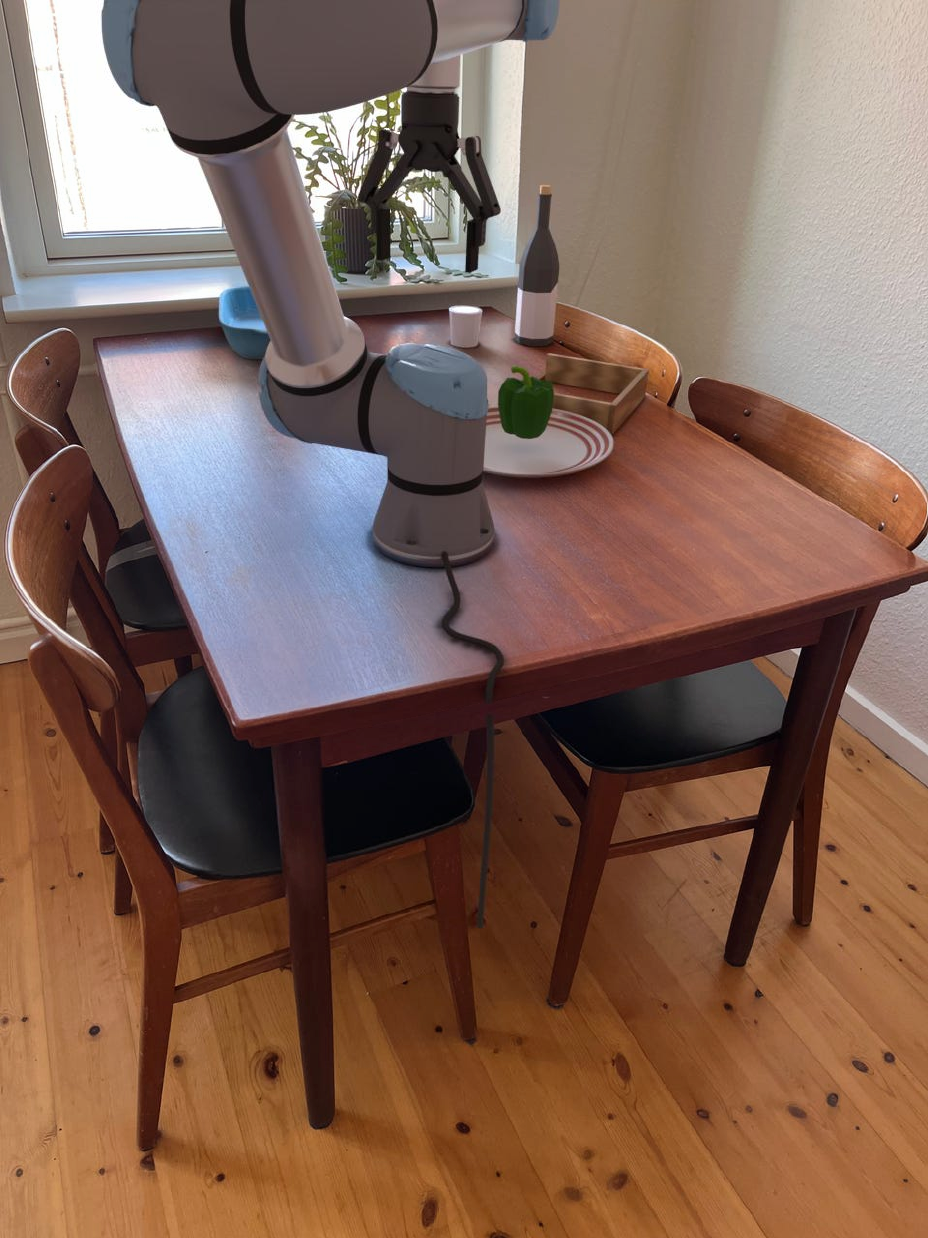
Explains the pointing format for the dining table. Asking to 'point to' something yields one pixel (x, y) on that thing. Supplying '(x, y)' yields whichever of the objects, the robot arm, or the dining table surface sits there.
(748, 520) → the dining table surface
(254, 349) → the casserole dish
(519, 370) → the bell pepper
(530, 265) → the wine bottle
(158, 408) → the dining table surface
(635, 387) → the crate
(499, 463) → the dinner plate
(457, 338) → the white cup
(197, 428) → the dining table surface
